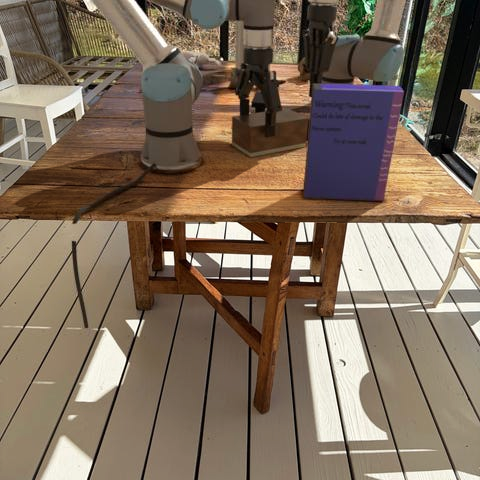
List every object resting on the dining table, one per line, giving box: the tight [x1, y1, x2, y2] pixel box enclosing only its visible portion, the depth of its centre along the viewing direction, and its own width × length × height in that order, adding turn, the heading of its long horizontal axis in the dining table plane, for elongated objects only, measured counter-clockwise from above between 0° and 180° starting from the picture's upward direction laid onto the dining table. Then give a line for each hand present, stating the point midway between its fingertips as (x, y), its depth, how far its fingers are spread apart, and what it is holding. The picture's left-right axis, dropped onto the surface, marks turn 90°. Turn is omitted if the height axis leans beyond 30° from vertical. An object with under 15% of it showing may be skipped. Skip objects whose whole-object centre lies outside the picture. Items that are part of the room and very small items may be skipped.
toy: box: [181, 50, 222, 69], centre depth 224 cm, size 24×25×7 cm
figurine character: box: [249, 91, 267, 114], centre depth 154 cm, size 7×8×15 cm
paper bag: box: [234, 21, 271, 71], centre depth 210 cm, size 19×15×28 cm
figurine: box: [209, 66, 287, 89], centre depth 190 cm, size 24×8×30 cm
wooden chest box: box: [231, 108, 308, 158], centre depth 133 cm, size 18×11×8 cm, turn 119°
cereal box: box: [302, 84, 405, 202], centre depth 102 cm, size 17×5×24 cm, turn 86°
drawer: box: [293, 110, 310, 142], centre depth 136 cm, size 23×9×6 cm, turn 119°
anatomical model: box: [297, 56, 310, 82], centre depth 207 cm, size 13×9×15 cm
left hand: (256, 129), depth 131 cm, fingers open, 13 cm apart
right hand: (314, 96), depth 135 cm, fingers closed
